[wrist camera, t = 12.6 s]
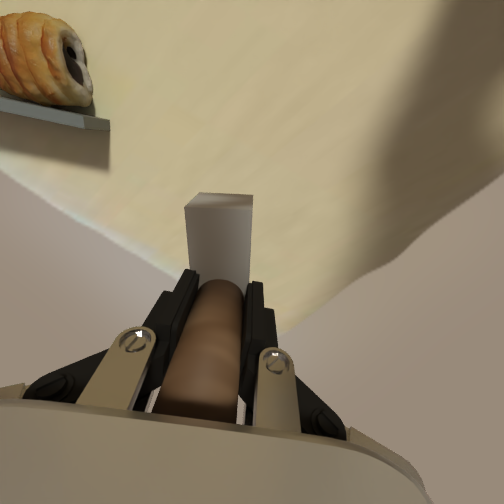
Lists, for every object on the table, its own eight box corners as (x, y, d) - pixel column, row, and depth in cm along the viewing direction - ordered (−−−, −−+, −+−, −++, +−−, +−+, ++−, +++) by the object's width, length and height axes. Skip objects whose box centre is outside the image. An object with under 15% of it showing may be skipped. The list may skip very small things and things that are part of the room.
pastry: (10, 108, 23) (-32, 102, 20) (-23, 20, 21) (-79, -5, 17) (101, 108, 23) (75, 102, 20) (81, 20, 21) (46, -5, 17)
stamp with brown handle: (253, 195, 13) (249, 291, 5) (246, 328, 17) (239, 495, 9) (199, 192, 13) (102, 285, 5) (207, 326, 17) (164, 492, 9)
